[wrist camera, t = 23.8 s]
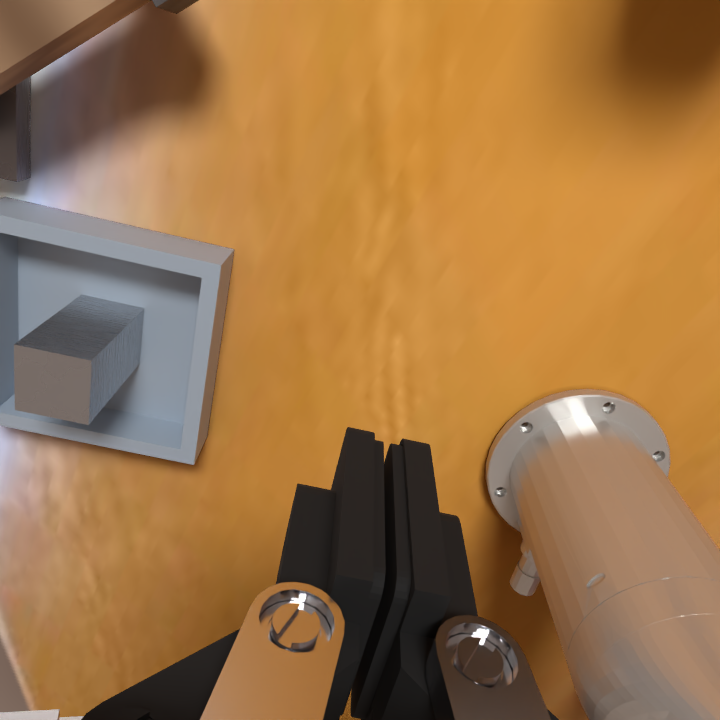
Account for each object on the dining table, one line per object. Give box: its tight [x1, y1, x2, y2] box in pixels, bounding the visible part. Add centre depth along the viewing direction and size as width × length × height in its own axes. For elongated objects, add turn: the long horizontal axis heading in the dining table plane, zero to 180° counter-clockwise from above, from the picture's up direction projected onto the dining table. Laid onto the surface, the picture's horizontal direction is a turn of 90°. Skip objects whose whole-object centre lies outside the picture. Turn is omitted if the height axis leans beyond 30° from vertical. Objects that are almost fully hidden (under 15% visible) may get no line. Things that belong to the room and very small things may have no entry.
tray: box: [0, 197, 234, 465], centre depth 39 cm, size 14×14×4 cm
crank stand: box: [0, 77, 30, 182], centre depth 32 cm, size 17×17×2 cm
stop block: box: [14, 294, 144, 425], centre depth 36 cm, size 4×4×8 cm
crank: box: [0, 0, 198, 95], centre depth 29 cm, size 18×5×5 cm, turn 116°
